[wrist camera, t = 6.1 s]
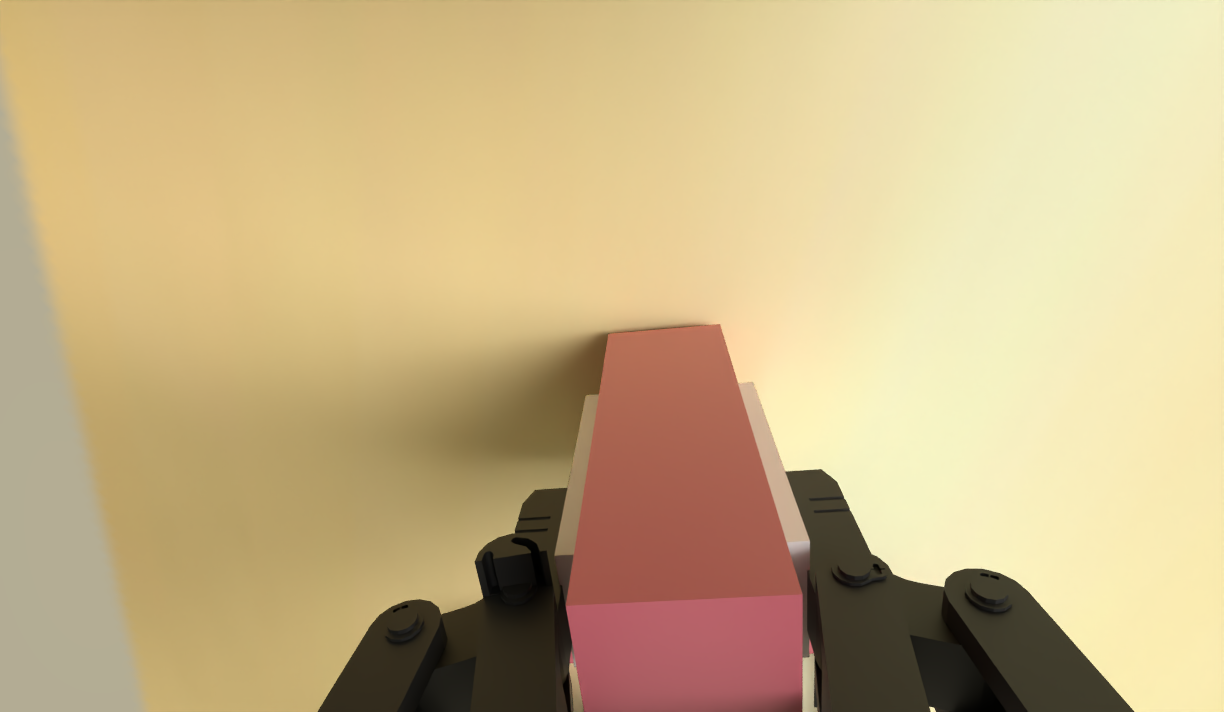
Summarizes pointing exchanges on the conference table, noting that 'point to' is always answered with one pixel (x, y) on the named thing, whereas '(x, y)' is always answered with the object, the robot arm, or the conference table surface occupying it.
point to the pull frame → (680, 541)
